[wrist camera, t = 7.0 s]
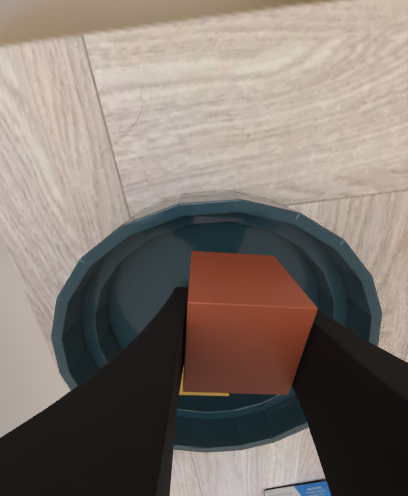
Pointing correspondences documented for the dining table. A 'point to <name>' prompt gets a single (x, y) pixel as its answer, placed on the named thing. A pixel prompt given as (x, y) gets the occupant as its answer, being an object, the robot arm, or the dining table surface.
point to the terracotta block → (243, 325)
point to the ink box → (301, 490)
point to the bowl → (177, 275)
